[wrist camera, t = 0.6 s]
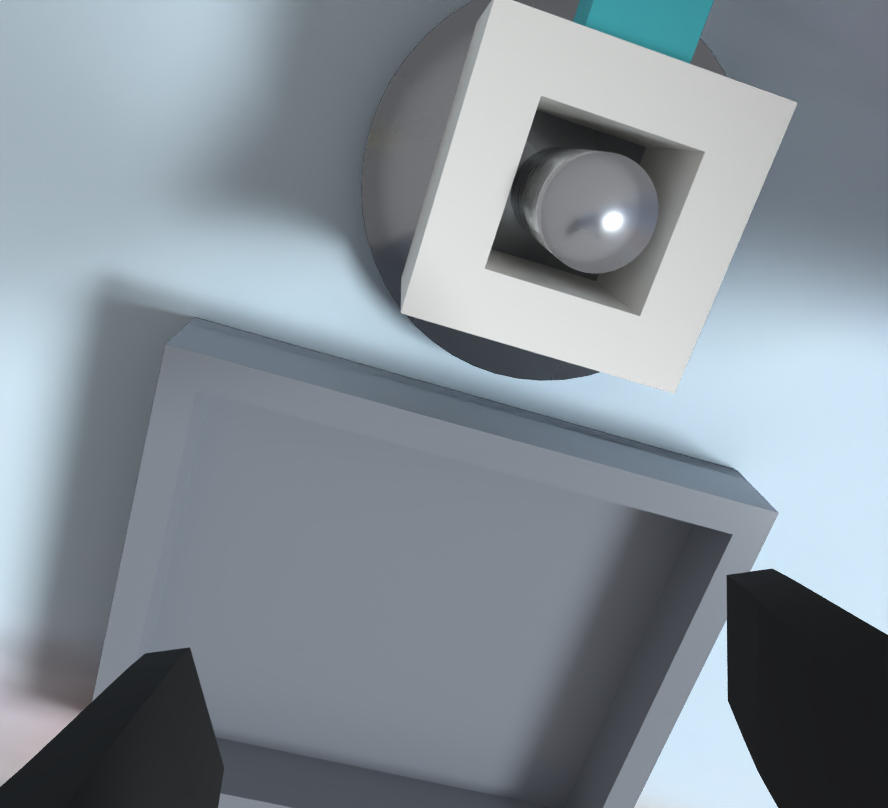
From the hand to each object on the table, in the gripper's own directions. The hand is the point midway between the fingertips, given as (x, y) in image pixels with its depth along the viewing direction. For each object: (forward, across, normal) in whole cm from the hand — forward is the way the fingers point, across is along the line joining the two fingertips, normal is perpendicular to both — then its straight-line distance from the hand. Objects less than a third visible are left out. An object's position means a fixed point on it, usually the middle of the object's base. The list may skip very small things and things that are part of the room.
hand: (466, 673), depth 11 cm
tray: (+10, +2, +5) cm, 11 cm away
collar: (+9, -3, -5) cm, 11 cm away
